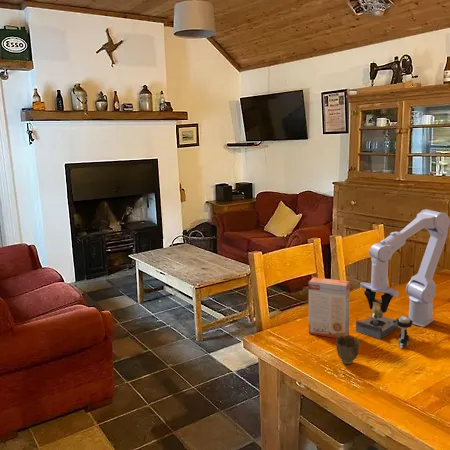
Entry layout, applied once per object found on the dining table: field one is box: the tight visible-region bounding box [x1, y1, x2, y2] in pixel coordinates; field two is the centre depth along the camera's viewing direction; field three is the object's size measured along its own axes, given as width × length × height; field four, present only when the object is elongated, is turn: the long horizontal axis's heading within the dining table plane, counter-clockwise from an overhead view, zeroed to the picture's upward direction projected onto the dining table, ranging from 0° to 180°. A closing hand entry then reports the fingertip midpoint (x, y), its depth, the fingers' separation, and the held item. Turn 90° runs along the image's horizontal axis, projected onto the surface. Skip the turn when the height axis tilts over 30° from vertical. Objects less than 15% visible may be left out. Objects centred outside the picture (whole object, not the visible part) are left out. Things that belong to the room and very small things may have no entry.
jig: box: [355, 315, 400, 340], centre depth 172 cm, size 14×10×4 cm
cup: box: [335, 335, 361, 366], centre depth 148 cm, size 8×7×8 cm
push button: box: [395, 315, 413, 349], centre depth 158 cm, size 7×5×10 cm
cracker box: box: [308, 276, 351, 339], centre depth 168 cm, size 14×6×21 cm, turn 61°
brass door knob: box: [370, 298, 384, 318], centre depth 171 cm, size 5×5×6 cm
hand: (378, 310), depth 171 cm, fingers closed on brass door knob, 4 cm apart
